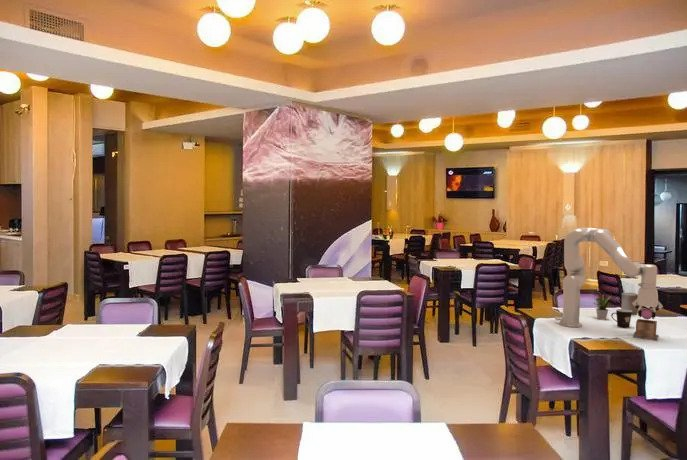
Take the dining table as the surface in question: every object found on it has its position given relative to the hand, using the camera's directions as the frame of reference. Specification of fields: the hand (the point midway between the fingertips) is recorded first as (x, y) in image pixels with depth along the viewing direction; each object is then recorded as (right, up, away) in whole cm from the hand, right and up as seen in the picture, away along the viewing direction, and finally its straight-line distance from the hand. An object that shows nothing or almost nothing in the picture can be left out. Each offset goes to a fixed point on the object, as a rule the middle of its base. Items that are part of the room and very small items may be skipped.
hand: (646, 317), depth 311 cm
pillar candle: (+22, -8, +62) cm, 67 cm away
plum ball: (0, -1, 0) cm, 1 cm away
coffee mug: (-2, -10, +25) cm, 27 cm away
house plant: (-5, -8, +46) cm, 47 cm away
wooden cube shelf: (0, -11, +1) cm, 11 cm away
